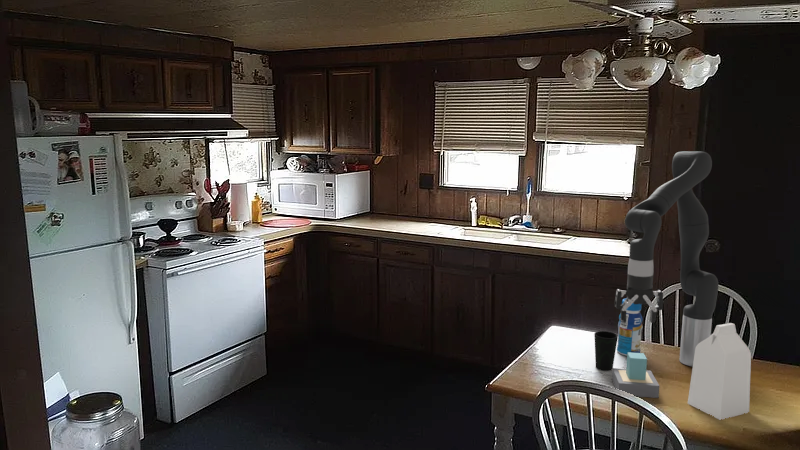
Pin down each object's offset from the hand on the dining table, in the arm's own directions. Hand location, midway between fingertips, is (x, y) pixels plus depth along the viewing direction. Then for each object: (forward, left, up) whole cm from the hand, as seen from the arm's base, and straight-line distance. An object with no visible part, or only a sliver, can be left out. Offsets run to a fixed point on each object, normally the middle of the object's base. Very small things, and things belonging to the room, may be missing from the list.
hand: (637, 321), depth 201 cm
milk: (-22, +13, -22) cm, 33 cm away
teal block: (0, +3, -17) cm, 17 cm away
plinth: (0, +3, -21) cm, 22 cm away
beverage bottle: (-4, -29, -22) cm, 36 cm away
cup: (+7, -13, -22) cm, 26 cm away
